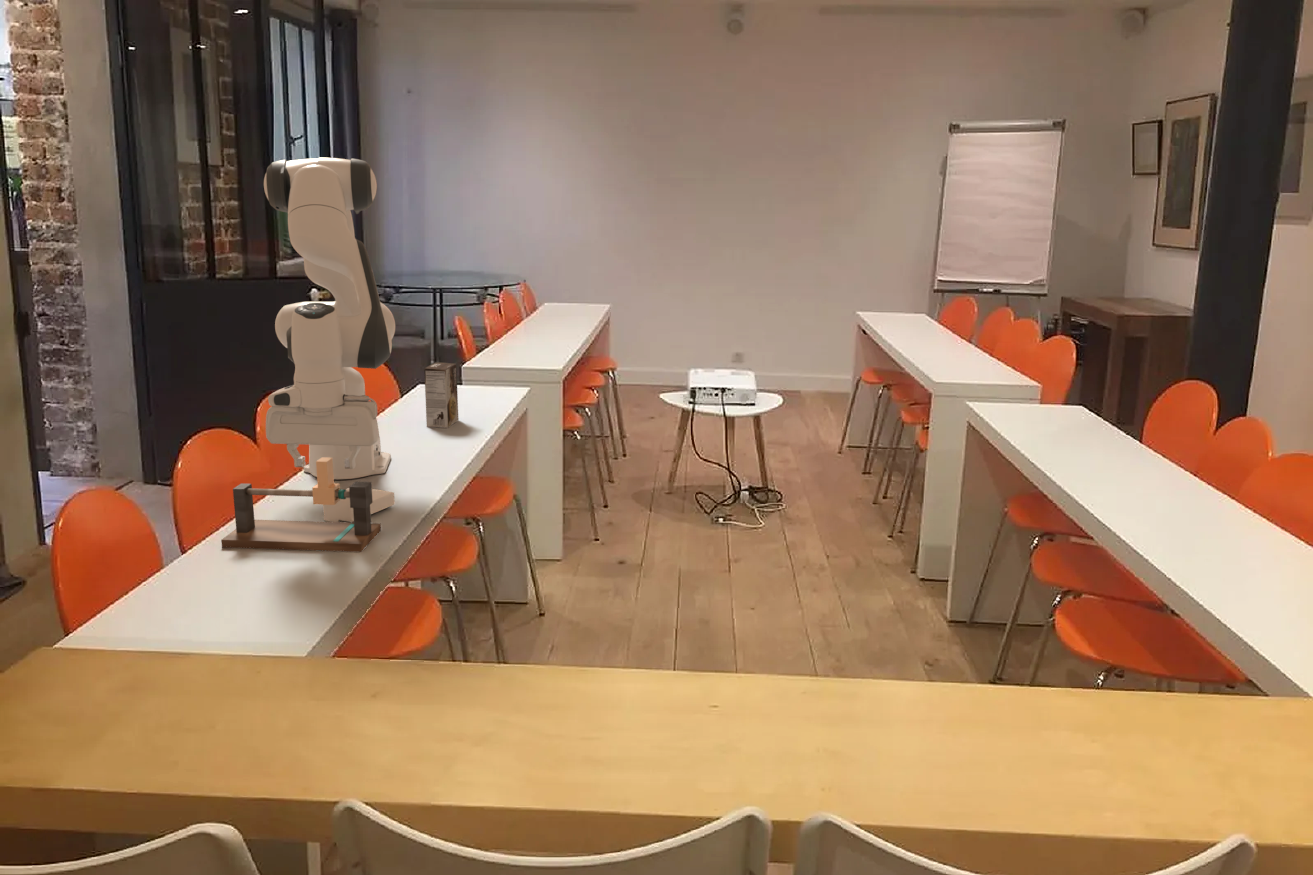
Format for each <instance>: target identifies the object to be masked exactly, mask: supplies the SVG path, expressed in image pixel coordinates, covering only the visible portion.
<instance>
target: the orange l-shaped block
mask: <svg viewBox="0 0 1313 875" xmlns="http://www.w3.org/2000/svg"><path fill="white" fill-rule="evenodd" d="M316 468H317V477H316V480H317V482H316V484H315V485H314V486H313V487H312V488H311V490H312V491H313V497H312V503H313V505H320V506H321V505H322V506H323V505H335V504H336V503H337V502H339V501H340V499H339V498H338V497H335V491H339V490H340V489H341V484H340V483H339V482H338V483H334V482H335V479H334V474H333V458H328V457H322V458H320V459H319V460H317V461H316Z"/></svg>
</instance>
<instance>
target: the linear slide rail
mask: <svg viewBox="0 0 1313 875" xmlns="http://www.w3.org/2000/svg"><path fill="white" fill-rule="evenodd" d="M252 485H253V484H252V483H240V484H238V485H237V486H235V487H233V488H232V496H233V505H234V507H233V509H234V517H235V520H234V521H235V529H234V530H232V531H231V532H230V533H229V534H227V535H226V536H225V537H223V538H221V548H223V549H225V548H226V549H229V548H230V549H231V548H232V549H255V550H256V549H259V550H285V551H286V550H290V551H291V550H292V551H316V550H321V551H322V550H323V551H322V552H346V553H347V552H354V553H362V552H363V550H365V549H366V547H367V546H368V545H369V544H371V543H372V541H373V540H374V539H375V538H376V537H377V536H378V535H379V534H380V533H381V532H382V524H381V523H380V522H379V523H377V522H375V523H374V522H372V520H371V519H372V516H371V515H372V514H370V504H371V503H372V489H373V487H372V481H354V482H353V483H352V484H351V485H350V486H348V488H349V491H346V489H344V488H343V489H341V488H340V490H339V491H335V497H338V498H339V499H346V498H350V508H353V514H354V521H353V522H348V521H341V522H331V521H317V520H316V521H311V520H284V519H282V520H281V519H280V520H279V519H275V520H274V519H255V512H254V510H255V509H254V497H253V496H273V497H274V496H275V497H276V496H278V497H279V496H280V497H281V496H282V497H283V496H285V497H307V498H308V497H309V498H310V497H311V498H313V491H312V489H287V488H283V489H282V488H276V489H275V488H274V489H273V488H252V487H253V486H252ZM325 550H326V551H325ZM321 551H320V552H321Z"/></svg>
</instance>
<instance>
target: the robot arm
mask: <svg viewBox="0 0 1313 875" xmlns="http://www.w3.org/2000/svg"><path fill="white" fill-rule="evenodd" d="M263 188H264V193H265V197H266V199H267V201H268V202H269V205H270V206H271V207H272V208H273V209H275V211H279V212H283V213H287V228H288V235H289V236H288V237H289V242H290V244H291V246H292V247H293V249H294V250H295V251H296V252H297V254H299V256H301V257H302V258H303V269H304V273H305V275H306V276H307V278H308V279H309V280H310V281H311V282H312V283H314V284H315V285H318V286H320V287H322V288H324V289H326V290H328V292H329V293H330V294H332V296H333V298H334V301H328V300H327V301H317V300H315V301H314V300H313V301H300V302H295V303H290V304H286V305H285V304H284V305H283V307H281V309H280V310H279V311H278V313H277V315H276V318H275V321H274V323H275V324H274V329H275V334H276V337H277V339H278V341H279V342H280V343H281V344H282V346H283V347H285V348H286V349H287V359H289V360H290V361H291V362H292V363H293V364H294V367H295V368H294V374H293V384H292V385H288V386H286V387H285V386H284V387H283V388H280V389H277V390H276V391H274V392H272V393H271V394H269V395H268V396H267V401H268V404H269V406H270V407H269V408H268V409H267V411H266V414H265V436H266V439H267V440H268V442H269V443H270V444H273V445H276V444H277V445H280V444H281V445H286V450H287V451H288V453H289V455H290V456H291V457H292V459H293V463H294V464H293V465H294V467H295V468H303V472H305V473H308V474H309V473H310V474H311V475H312V476H313V477H316V478H317V468H316V461H317V460H319V459H320V458H322V457H328V458H333V474H334V480H351V479H359V478H365V477H367V476H371V475H381V474H384V473H386V472H387V469H388V466H389V464H390V462H391V459H392V455H391V453H390V452H386V451H385V452H384V451H382V448H381V447H382V446H381V445H382V444H381V437H380V431H379V424H378V419H377V417H378V404H377V402H376V400H375V399H373V398H371V397H370V396H368V395H366V386H365V378H364V377H363V376H362V374H361V373H360V371H358V370H357V369H355V368H358V369H375V370H376V369H377V368H379V367H380V366H383V364H385V362H387V360H389V359H390V357H391V353H392V347H393V344H392V343H393V342H392V340H393V338H394V336H395V333H396V321H395V317H394V314H393V313H392V311H391V310H390V308H389V307H388V306H386V305H385V304H384V303H383V302H381V301H380V297H379V292H378V289H377V285H376V284H377V283H376V280H375V276H374V271H373V268H372V264H371V261H370V257H369V253H368V251H367V249H366V246H365V244H364V243H363V241H361V240H359V239H357V238H356V237H355V236H356V234H355V227H354V220H353V215H352V211H354V212H355V214H356V215H358V214H360V212H361V211H364V210H367V209H369V208H370V207H371V206H372V205H373V203H374V199H375V197H376V194H377V190H378V189H377V188H378V185H377V178H376V175H375V173H374V171H373V169H372V166H371V165H370V164H369V163H368V162H367V161H366V160H364V159H363V160H362V159H358V158H350V159H347V158H346V159H345V158H338V157H322V156H321V157H318V158H302V159H301V158H300V159H292V160H287V159H281V160H280V159H279V160H276V161H272V162H271V163H270V164H269V165H268V166H267V168H266V172H265V174H264V178H263ZM300 445H304V446H305V445H306V446H307V445H308V464H306V463H307V462H306V456H305V455H301V453H300V452H299V451H298V447H300Z"/></svg>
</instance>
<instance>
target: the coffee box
mask: <svg viewBox="0 0 1313 875" xmlns="http://www.w3.org/2000/svg"><path fill="white" fill-rule="evenodd" d="M423 370H424V389H425V390H424V392H425V393H424V396H425V418H426V419H425V420H426V428H445V429H447V428H448V429H449V428H450V427H452V426H453V425H454V424H455V423H456V422H458V421H459V420H460V418H459V403H458V401H459V399H458V394H459V393H458V376H457V375H458V372H457V363H453V362H452V363H451V362H450V363H449V362H436V361H435V362H433V363H432V364H430V365H428V366H426V367H425V368H423Z"/></svg>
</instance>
